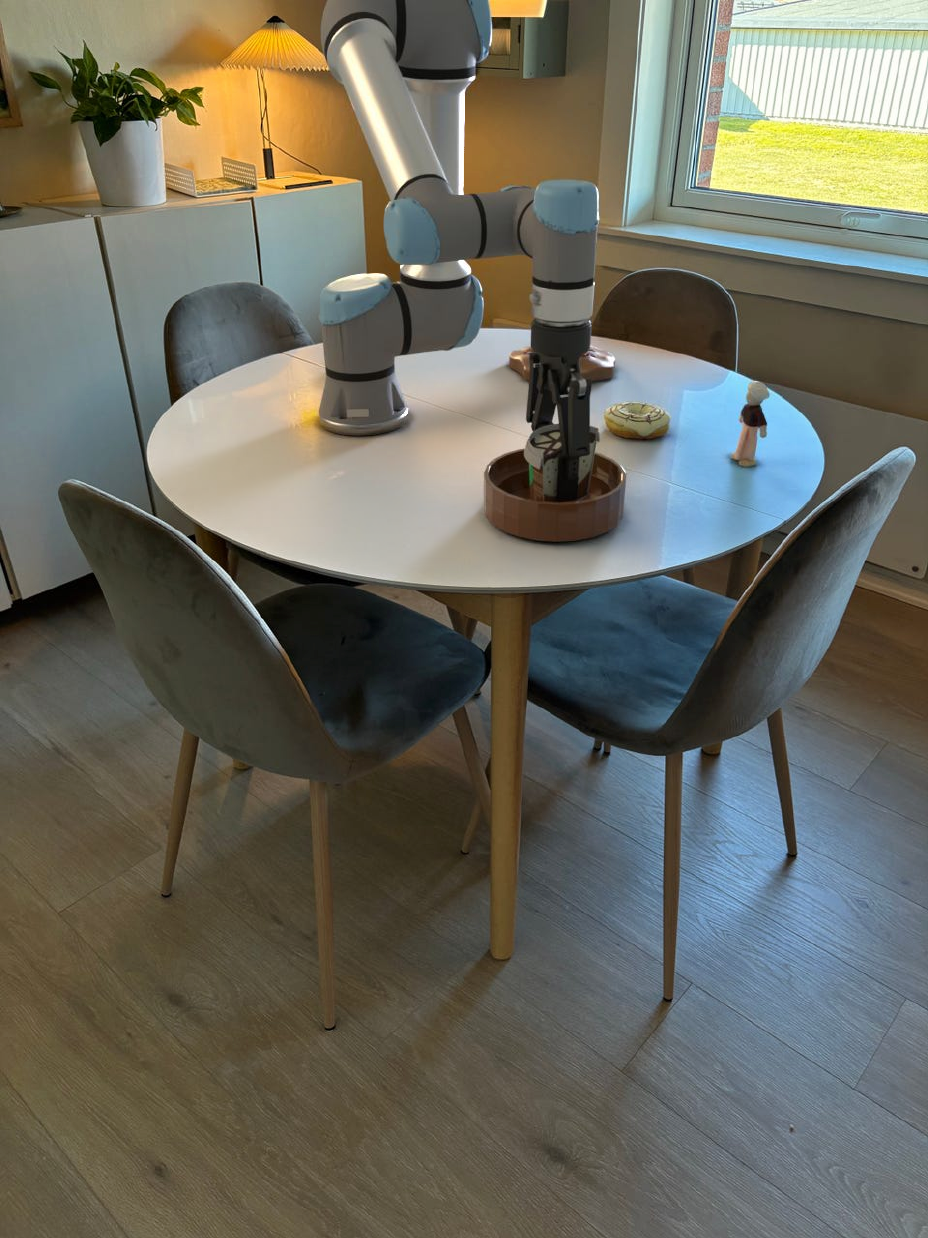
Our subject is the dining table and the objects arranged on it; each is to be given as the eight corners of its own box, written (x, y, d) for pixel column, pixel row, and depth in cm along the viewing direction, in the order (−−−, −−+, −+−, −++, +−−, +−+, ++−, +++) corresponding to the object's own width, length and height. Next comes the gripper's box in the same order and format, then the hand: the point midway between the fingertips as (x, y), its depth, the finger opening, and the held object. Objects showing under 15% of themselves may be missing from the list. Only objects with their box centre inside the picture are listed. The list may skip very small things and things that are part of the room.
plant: (631, 379, 177) (636, 319, 171) (534, 390, 173) (536, 329, 167) (590, 350, 194) (593, 294, 188) (500, 359, 189) (501, 303, 183)
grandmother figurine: (719, 455, 146) (731, 376, 139) (739, 451, 147) (752, 372, 141) (750, 473, 140) (764, 391, 133) (771, 469, 141) (786, 387, 135)
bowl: (464, 496, 135) (464, 457, 131) (583, 476, 140) (586, 438, 137) (516, 556, 119) (517, 513, 116) (648, 530, 125) (652, 489, 122)
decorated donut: (651, 447, 149) (654, 425, 147) (592, 433, 154) (594, 411, 152) (678, 427, 156) (681, 405, 154) (621, 414, 162) (623, 393, 160)
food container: (561, 479, 135) (566, 413, 129) (594, 493, 131) (601, 427, 125) (502, 507, 128) (505, 439, 122) (536, 523, 124) (540, 454, 118)
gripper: (502, 302, 122) (500, 464, 135) (569, 343, 106) (561, 523, 119) (554, 296, 124) (548, 457, 137) (628, 336, 108) (613, 513, 121)
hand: (554, 487), depth 128 cm, fingers closed on food container, 7 cm apart
